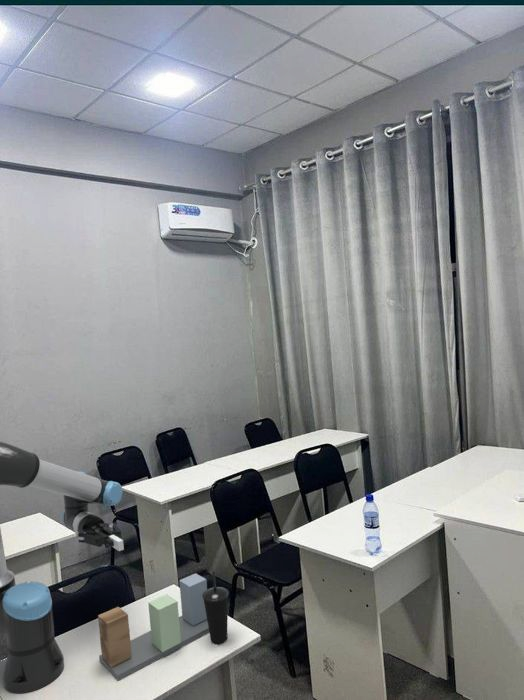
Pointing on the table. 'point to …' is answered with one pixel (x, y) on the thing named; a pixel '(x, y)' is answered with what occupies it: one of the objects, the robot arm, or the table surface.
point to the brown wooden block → (114, 636)
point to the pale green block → (164, 622)
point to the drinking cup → (216, 612)
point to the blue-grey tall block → (193, 598)
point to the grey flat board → (154, 649)
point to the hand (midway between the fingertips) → (121, 545)
